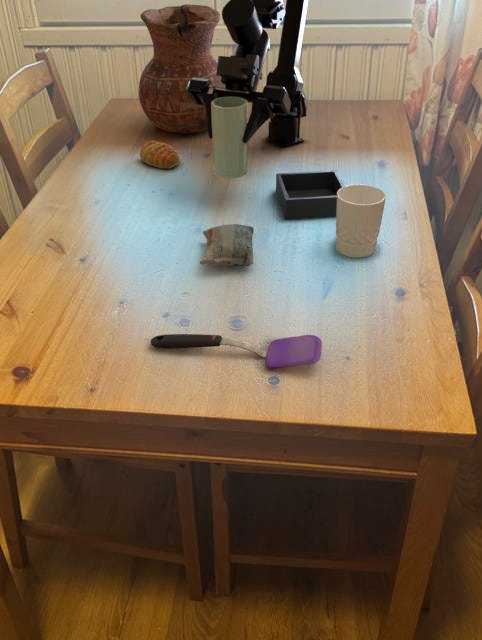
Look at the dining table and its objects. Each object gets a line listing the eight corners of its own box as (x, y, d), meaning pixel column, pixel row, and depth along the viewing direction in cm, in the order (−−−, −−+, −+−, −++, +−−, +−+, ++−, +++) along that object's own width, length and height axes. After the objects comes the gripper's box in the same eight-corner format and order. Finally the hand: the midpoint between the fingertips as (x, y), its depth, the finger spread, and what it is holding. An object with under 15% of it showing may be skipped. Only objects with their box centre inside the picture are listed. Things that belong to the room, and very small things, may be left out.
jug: (227, 140, 159) (225, 22, 143) (137, 141, 159) (125, 24, 144) (228, 108, 176) (226, 0, 161) (146, 109, 177) (137, 1, 161)
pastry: (188, 164, 148) (187, 146, 146) (164, 173, 145) (163, 156, 142) (160, 152, 154) (158, 136, 151) (136, 161, 150) (134, 144, 148)
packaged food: (200, 275, 112) (199, 249, 109) (203, 240, 121) (203, 215, 118) (253, 276, 112) (254, 249, 109) (253, 241, 121) (253, 215, 118)
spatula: (145, 359, 95) (143, 344, 94) (157, 330, 100) (156, 316, 99) (318, 376, 92) (320, 362, 90) (322, 346, 97) (323, 331, 95)
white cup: (382, 241, 120) (389, 187, 114) (374, 263, 114) (381, 207, 108) (337, 234, 122) (342, 181, 116) (327, 256, 116) (332, 201, 110)
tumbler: (232, 162, 134) (231, 94, 126) (254, 171, 130) (254, 102, 122) (206, 171, 131) (204, 102, 123) (228, 181, 127) (227, 110, 119)
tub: (275, 192, 136) (276, 173, 134) (334, 189, 137) (336, 170, 134) (284, 220, 127) (285, 200, 125) (348, 216, 128) (350, 196, 125)
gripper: (187, 30, 122) (164, 113, 121) (288, 38, 116) (264, 125, 115) (207, 64, 132) (186, 141, 131) (300, 73, 126) (279, 153, 125)
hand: (226, 140), depth 125 cm, fingers closed on tumbler, 6 cm apart
